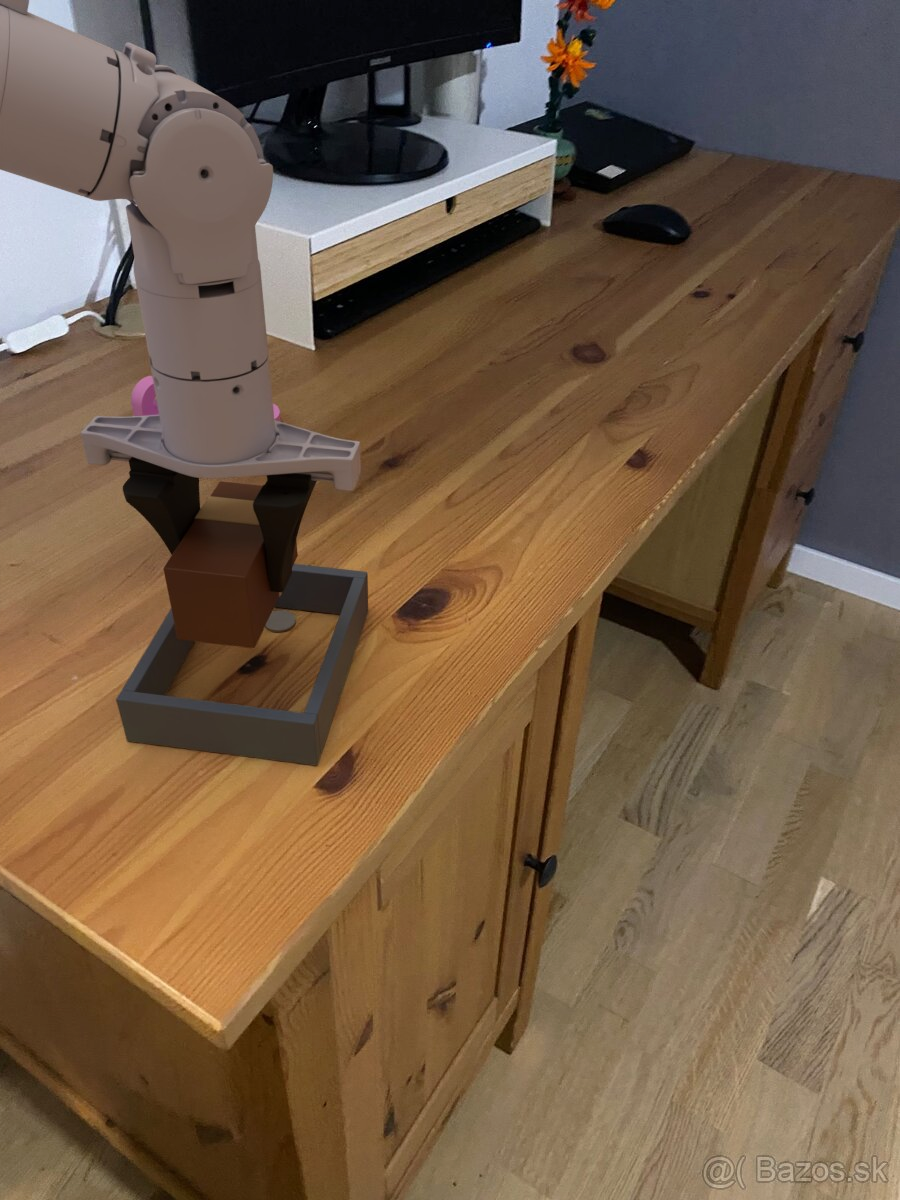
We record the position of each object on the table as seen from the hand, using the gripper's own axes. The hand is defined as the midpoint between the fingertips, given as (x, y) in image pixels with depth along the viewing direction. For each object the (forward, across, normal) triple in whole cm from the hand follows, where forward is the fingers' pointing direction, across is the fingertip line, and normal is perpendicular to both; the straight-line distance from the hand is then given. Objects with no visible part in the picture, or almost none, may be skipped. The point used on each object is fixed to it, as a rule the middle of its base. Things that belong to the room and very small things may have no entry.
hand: (239, 577), depth 53 cm
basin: (+8, 0, -1) cm, 8 cm away
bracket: (+8, +12, -30) cm, 34 cm away
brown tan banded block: (+1, 0, 0) cm, 1 cm away
